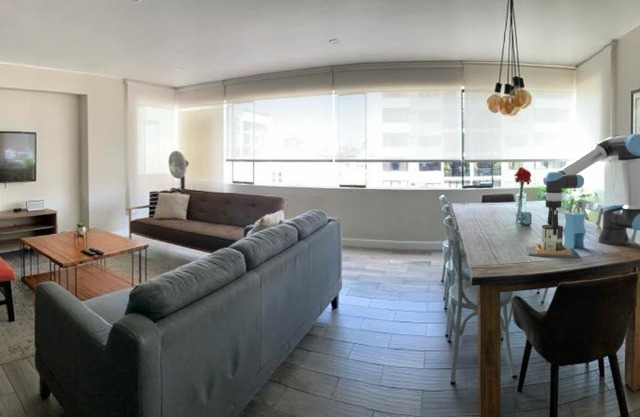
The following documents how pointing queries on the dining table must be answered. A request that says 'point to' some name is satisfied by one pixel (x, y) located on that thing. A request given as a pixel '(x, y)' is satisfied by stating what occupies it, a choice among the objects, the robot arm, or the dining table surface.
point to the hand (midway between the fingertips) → (552, 238)
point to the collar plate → (552, 252)
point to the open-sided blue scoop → (574, 230)
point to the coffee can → (546, 238)
